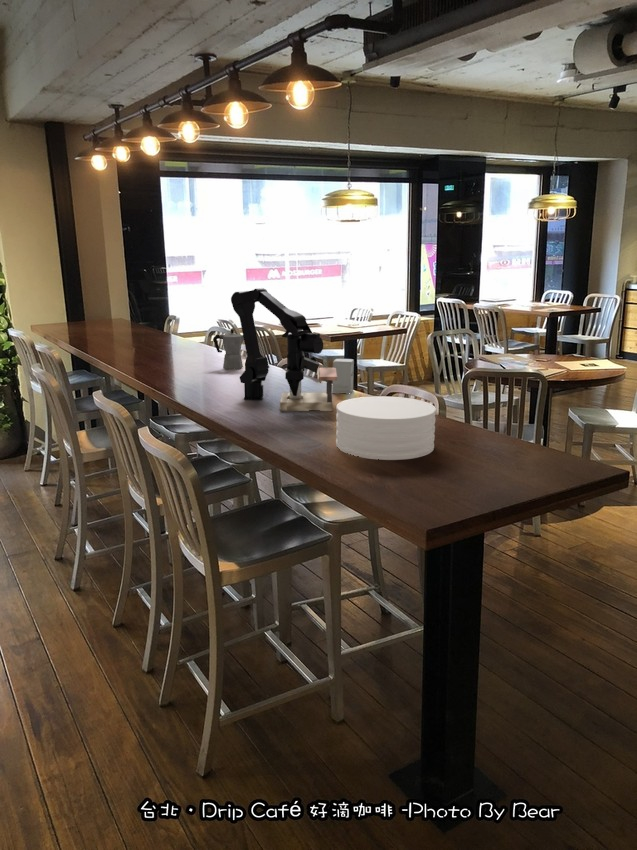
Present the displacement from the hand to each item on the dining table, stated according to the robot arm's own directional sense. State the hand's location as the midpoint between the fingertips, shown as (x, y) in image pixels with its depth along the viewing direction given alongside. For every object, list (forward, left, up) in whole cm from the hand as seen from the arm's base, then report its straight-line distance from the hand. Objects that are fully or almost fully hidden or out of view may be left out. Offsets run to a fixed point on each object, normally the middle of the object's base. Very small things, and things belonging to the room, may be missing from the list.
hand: (295, 394), depth 242 cm
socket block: (+4, 0, -4) cm, 6 cm away
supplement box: (+18, +24, -4) cm, 30 cm away
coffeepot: (-32, +76, -4) cm, 82 cm away
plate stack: (+27, -49, -4) cm, 56 cm away
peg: (0, 0, -2) cm, 3 cm away
